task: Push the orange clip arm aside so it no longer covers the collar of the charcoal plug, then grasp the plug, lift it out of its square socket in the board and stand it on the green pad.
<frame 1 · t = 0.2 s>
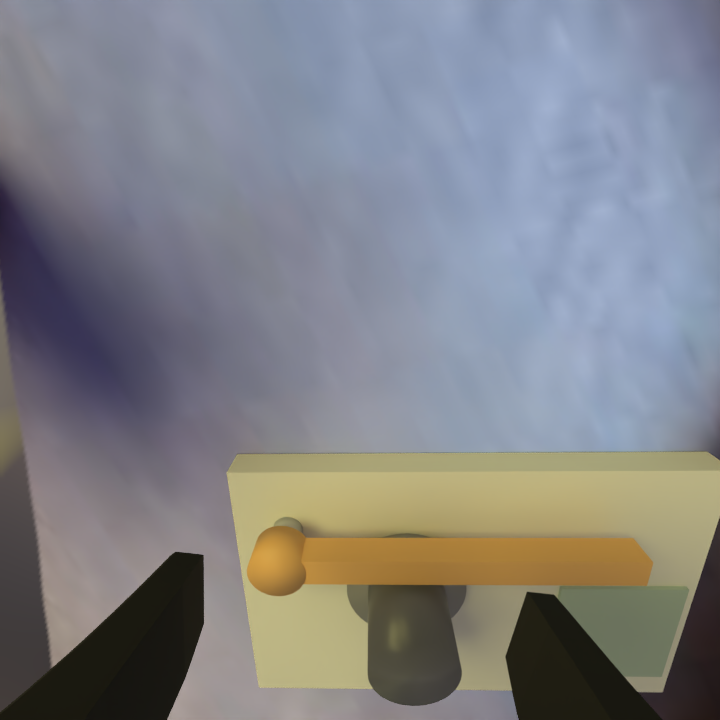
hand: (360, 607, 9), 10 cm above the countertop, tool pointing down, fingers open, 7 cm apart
clip: (443, 560, 17), point 3 cm above the countertop, hinge at 0.0°
board: (459, 568, 21), on the countertop
plug: (402, 552, 21), resting in board
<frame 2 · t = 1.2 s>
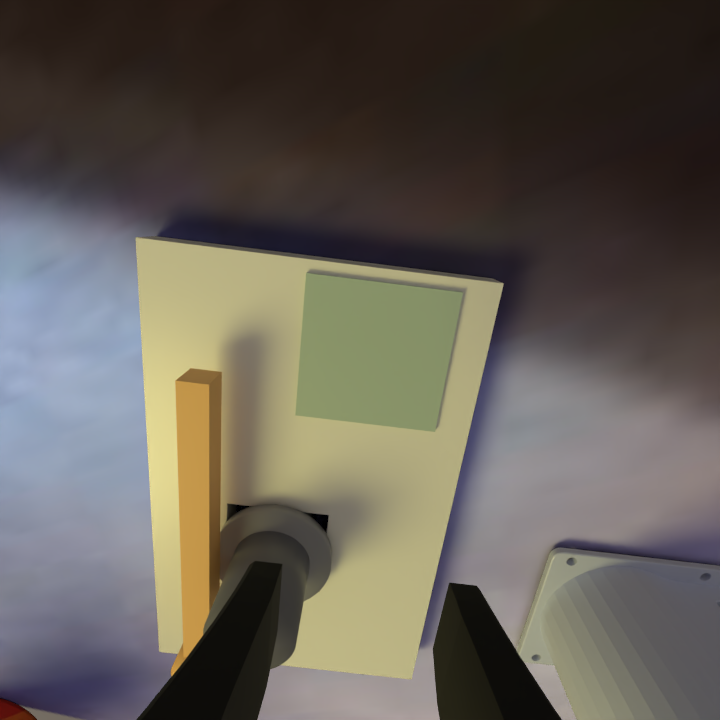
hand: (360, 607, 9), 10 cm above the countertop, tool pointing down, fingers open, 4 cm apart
clip: (201, 549, 18), point 3 cm above the countertop, hinge at 0.0°
board: (305, 481, 20), on the countertop
plug: (281, 527, 21), resting in board
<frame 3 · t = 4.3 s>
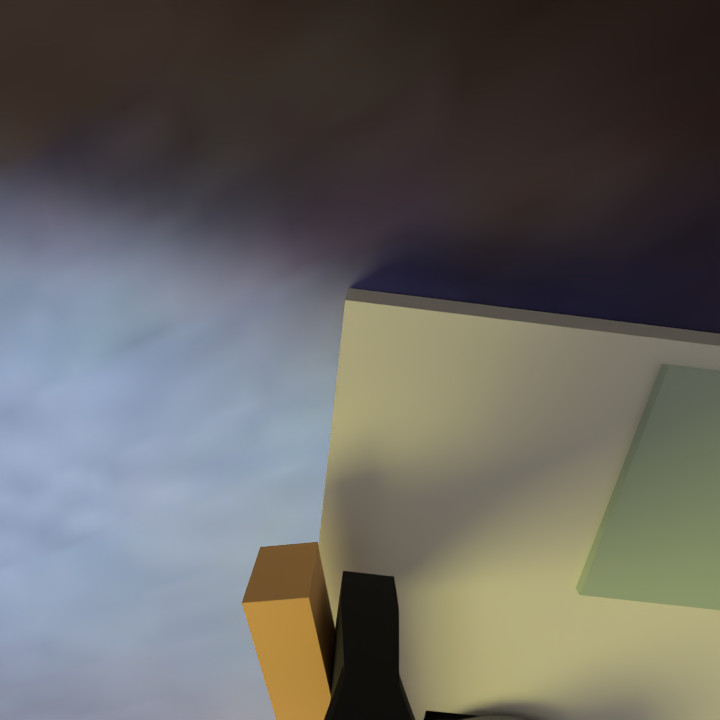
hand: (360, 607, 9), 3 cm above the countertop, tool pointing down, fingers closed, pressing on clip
board: (527, 655, 13), on the countertop
plug: (476, 712, 14), resting in board
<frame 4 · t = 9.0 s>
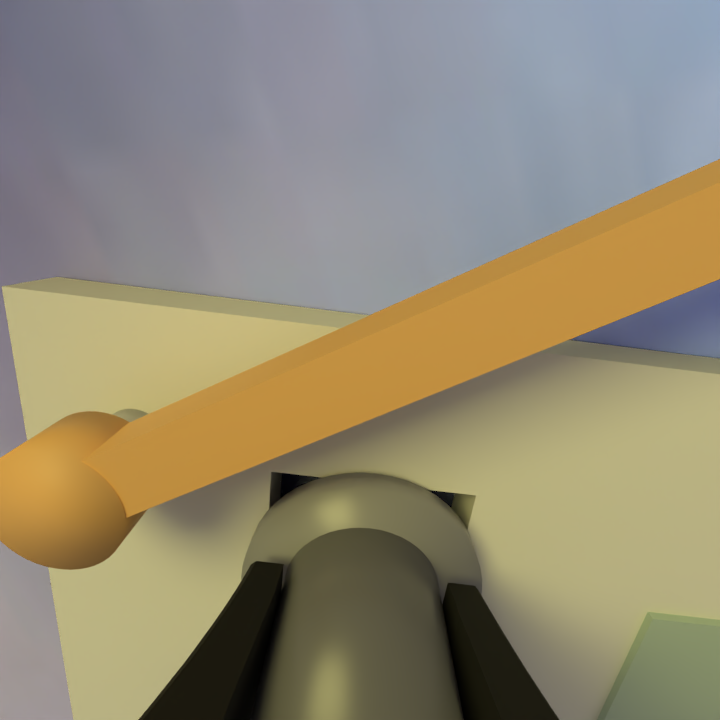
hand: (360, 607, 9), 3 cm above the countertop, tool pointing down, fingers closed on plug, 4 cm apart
clip: (433, 337, 6), point 3 cm above the countertop, hinge at 31.6°
board: (459, 561, 12), on the countertop
plug: (362, 521, 12), resting in board, touching gripper
when the fingers open (6 cm above the countertop, at t = 12.0 s): plug stays where it is, resting on board.
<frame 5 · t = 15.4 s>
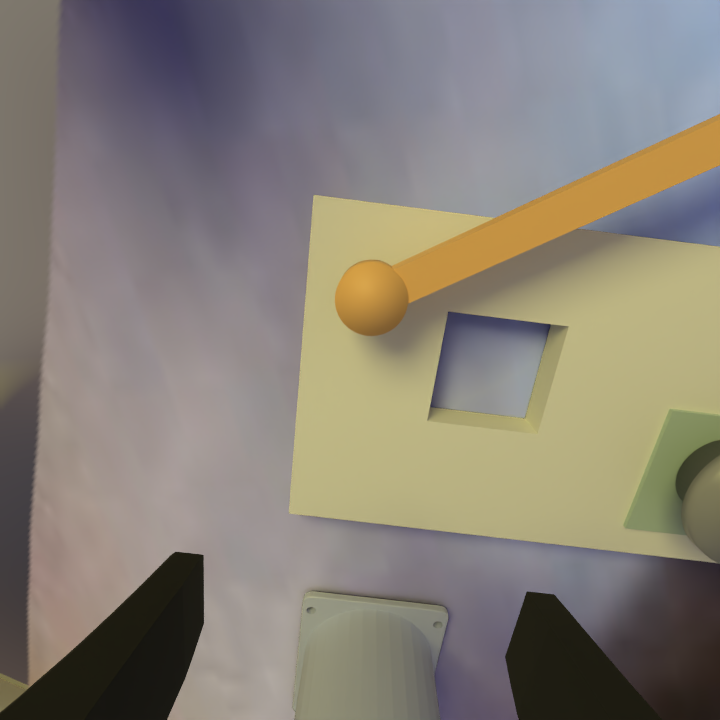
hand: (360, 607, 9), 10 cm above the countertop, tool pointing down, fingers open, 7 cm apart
clip: (569, 206, 13), point 3 cm above the countertop, hinge at 31.6°
board: (545, 392, 18), on the countertop
plug: (718, 475, 18), point 2 cm above the countertop, touching board
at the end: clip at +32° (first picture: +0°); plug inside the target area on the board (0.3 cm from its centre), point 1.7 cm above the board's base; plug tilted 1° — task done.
